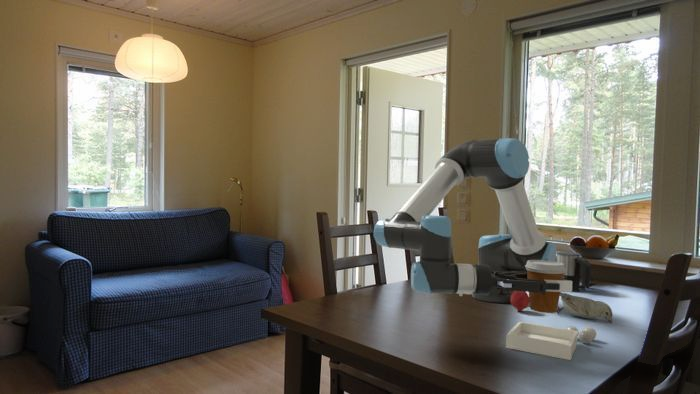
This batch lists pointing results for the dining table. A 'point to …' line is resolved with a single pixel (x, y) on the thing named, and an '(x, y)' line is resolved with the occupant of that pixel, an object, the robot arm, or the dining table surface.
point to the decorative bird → (585, 307)
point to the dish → (542, 340)
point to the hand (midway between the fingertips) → (563, 283)
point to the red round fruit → (520, 300)
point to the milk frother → (575, 269)
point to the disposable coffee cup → (544, 272)
